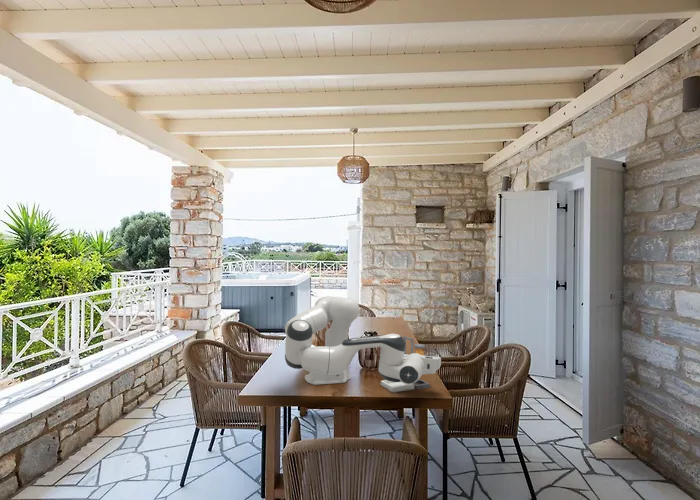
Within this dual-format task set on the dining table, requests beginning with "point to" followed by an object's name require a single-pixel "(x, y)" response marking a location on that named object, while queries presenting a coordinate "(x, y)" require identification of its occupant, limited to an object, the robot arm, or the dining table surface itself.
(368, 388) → the dining table surface
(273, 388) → the dining table surface
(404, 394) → the dining table surface
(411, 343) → the trolley
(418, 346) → the pin
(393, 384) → the tray
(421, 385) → the socket
